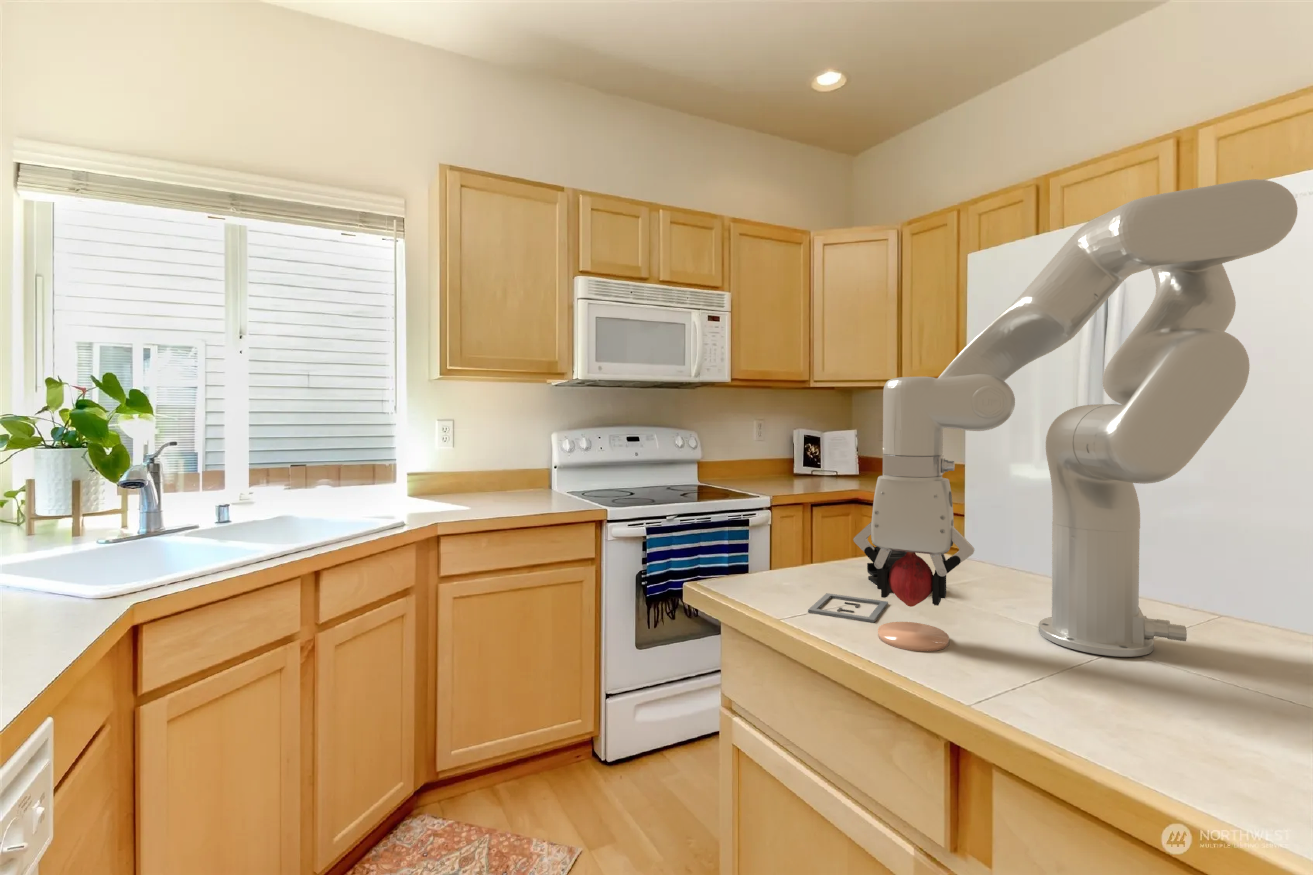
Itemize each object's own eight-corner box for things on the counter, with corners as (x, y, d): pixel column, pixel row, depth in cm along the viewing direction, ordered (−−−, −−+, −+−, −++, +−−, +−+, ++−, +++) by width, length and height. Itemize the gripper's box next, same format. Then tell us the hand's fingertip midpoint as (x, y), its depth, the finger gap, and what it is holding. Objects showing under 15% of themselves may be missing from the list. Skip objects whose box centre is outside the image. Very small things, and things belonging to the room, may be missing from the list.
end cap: (928, 593, 105) (928, 554, 105) (887, 594, 105) (887, 555, 105) (903, 577, 115) (903, 541, 115) (866, 578, 115) (866, 542, 115)
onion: (941, 613, 81) (942, 553, 81) (897, 613, 81) (898, 553, 81) (923, 599, 87) (923, 544, 87) (882, 600, 87) (882, 544, 87)
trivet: (952, 633, 86) (952, 628, 86) (944, 656, 78) (944, 650, 78) (885, 623, 90) (885, 617, 90) (871, 643, 83) (871, 637, 83)
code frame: (888, 604, 99) (888, 601, 99) (874, 622, 91) (874, 619, 91) (826, 595, 105) (826, 593, 105) (808, 612, 96) (808, 609, 96)
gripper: (985, 468, 82) (983, 601, 83) (854, 463, 91) (853, 583, 92) (981, 473, 76) (979, 617, 76) (840, 467, 85) (840, 596, 85)
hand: (910, 597), depth 84 cm, fingers closed on onion, 5 cm apart
